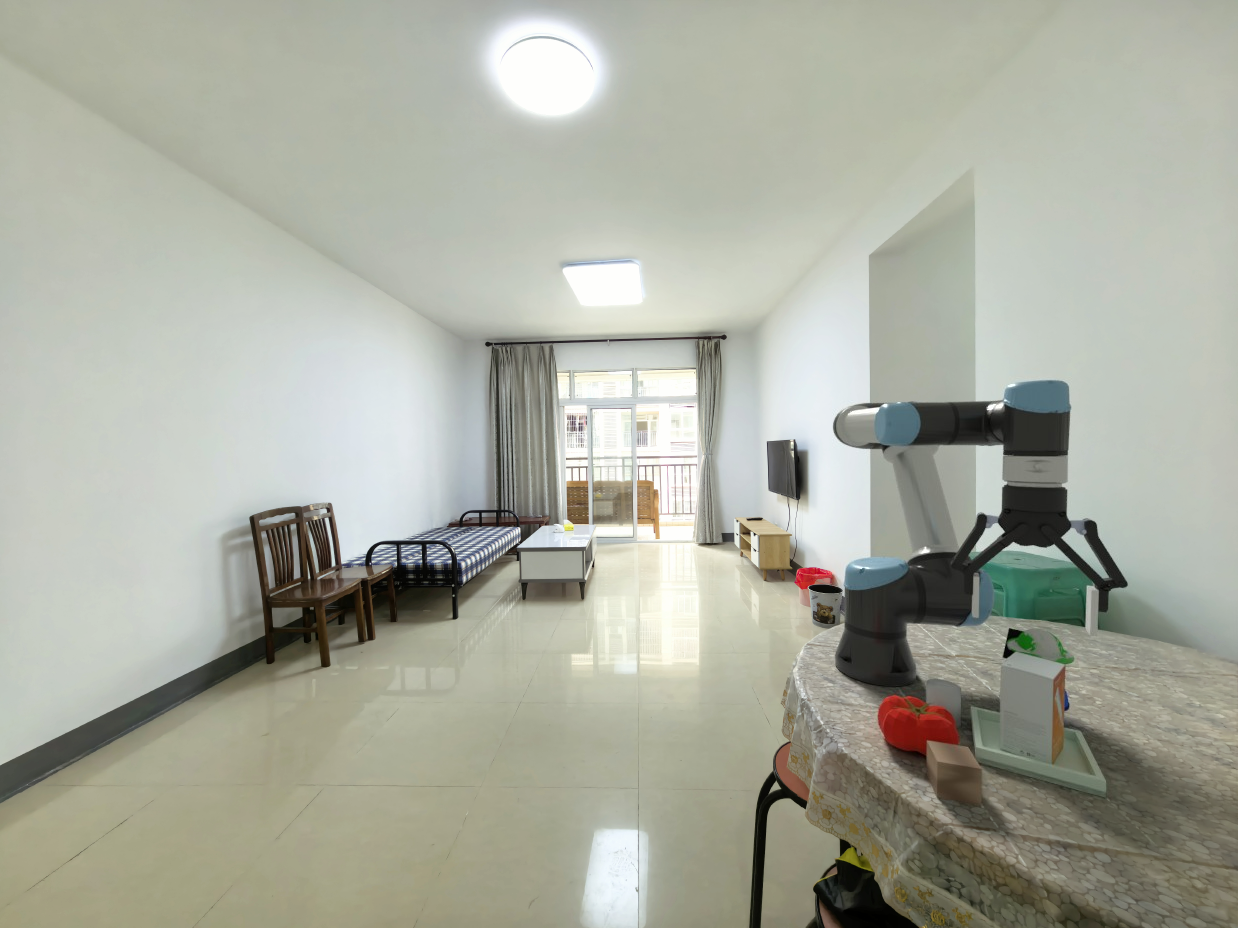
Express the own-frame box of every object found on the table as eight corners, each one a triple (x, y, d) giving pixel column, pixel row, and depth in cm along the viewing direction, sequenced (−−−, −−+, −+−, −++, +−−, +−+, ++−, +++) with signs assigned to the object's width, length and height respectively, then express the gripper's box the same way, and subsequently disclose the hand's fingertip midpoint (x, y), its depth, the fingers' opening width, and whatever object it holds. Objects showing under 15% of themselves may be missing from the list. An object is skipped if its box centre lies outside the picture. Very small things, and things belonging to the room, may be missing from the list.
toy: (1056, 705, 88) (1057, 623, 88) (1085, 733, 80) (1087, 642, 79) (997, 697, 91) (998, 618, 91) (1019, 723, 83) (1020, 635, 82)
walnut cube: (936, 798, 65) (937, 761, 65) (926, 774, 70) (926, 740, 70) (981, 806, 63) (981, 768, 63) (967, 781, 68) (967, 746, 68)
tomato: (961, 775, 70) (961, 730, 69) (874, 751, 75) (875, 709, 75) (957, 741, 78) (957, 700, 78) (879, 721, 84) (879, 683, 83)
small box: (1052, 769, 69) (1054, 679, 69) (997, 748, 74) (999, 663, 74) (1065, 748, 74) (1066, 663, 74) (1012, 729, 79) (1014, 650, 79)
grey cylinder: (925, 722, 83) (925, 687, 83) (926, 709, 87) (926, 676, 87) (961, 731, 80) (961, 695, 80) (960, 717, 85) (960, 683, 84)
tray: (975, 761, 73) (975, 746, 72) (970, 718, 84) (970, 705, 84) (1106, 797, 65) (1106, 781, 65) (1080, 744, 77) (1080, 731, 76)
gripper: (935, 483, 77) (932, 615, 78) (1163, 490, 64) (1157, 650, 64) (935, 480, 84) (933, 602, 84) (1143, 486, 70) (1138, 632, 71)
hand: (1030, 623), depth 74 cm, fingers open, 13 cm apart
